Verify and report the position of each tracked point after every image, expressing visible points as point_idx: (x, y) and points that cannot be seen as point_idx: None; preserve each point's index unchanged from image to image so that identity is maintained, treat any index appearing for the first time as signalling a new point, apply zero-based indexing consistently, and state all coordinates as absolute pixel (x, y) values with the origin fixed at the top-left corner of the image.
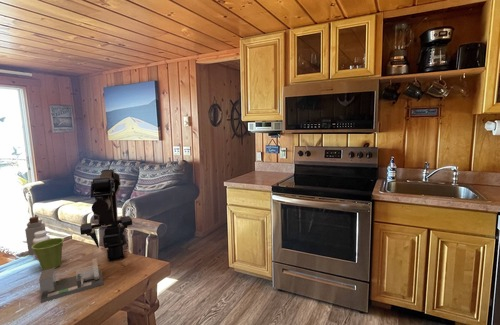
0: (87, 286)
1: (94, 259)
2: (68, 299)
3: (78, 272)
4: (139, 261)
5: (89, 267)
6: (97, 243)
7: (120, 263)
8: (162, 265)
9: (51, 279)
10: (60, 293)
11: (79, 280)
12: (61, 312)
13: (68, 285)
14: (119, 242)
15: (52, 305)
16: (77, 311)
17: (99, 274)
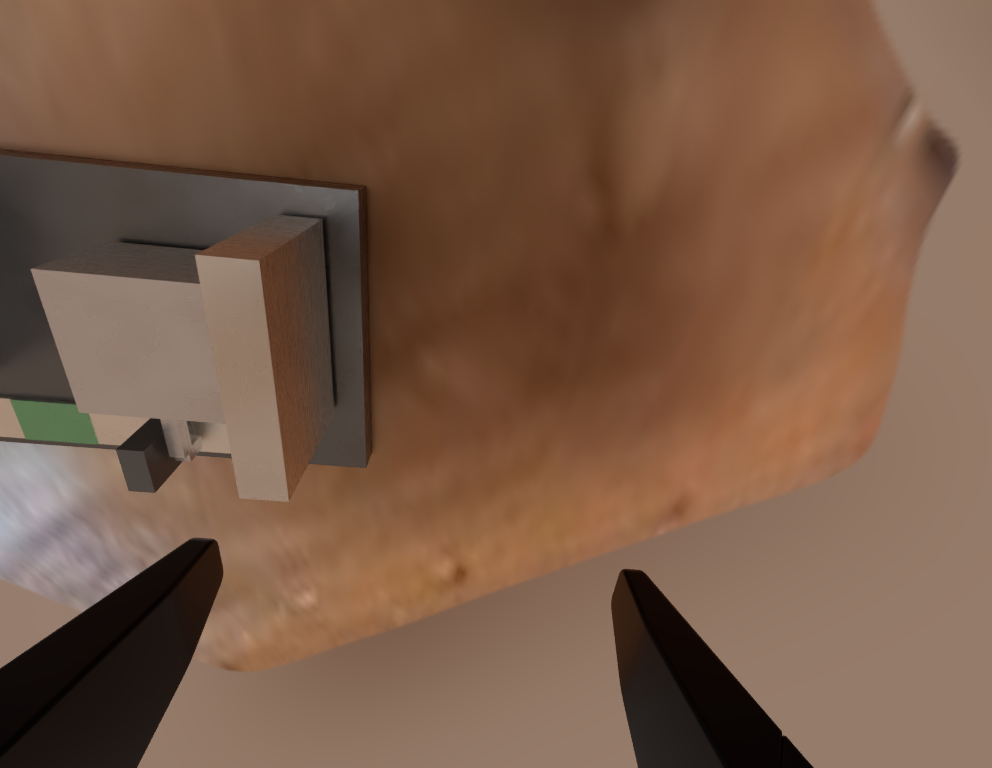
0: None
1: (230, 297)
2: None
3: (92, 378)
4: (776, 221)
5: (201, 331)
6: (155, 703)
7: (594, 104)
8: (859, 454)
9: None
10: (43, 437)
11: (152, 490)
12: None
13: None
14: (616, 607)
15: (45, 496)
16: (226, 623)
17: (337, 315)
